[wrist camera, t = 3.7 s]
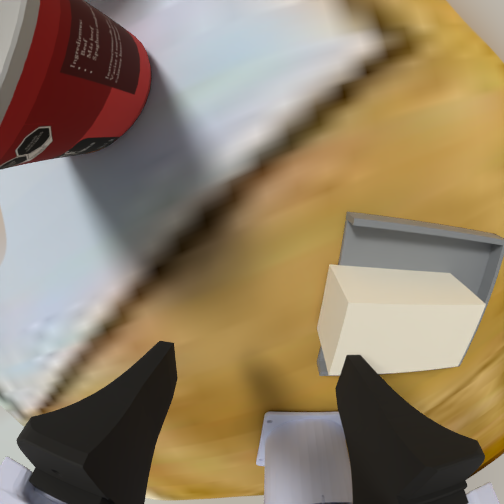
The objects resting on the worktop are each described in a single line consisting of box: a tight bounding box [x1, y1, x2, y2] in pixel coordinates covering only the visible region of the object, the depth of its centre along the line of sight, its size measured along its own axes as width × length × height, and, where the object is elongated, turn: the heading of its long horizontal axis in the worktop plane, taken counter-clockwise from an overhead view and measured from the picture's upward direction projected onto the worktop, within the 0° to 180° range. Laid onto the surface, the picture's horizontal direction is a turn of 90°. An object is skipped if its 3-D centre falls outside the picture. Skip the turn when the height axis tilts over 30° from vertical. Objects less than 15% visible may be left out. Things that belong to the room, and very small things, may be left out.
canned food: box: [0, 0, 151, 169], centre depth 9 cm, size 8×8×11 cm
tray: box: [317, 212, 504, 376], centre depth 17 cm, size 11×12×2 cm
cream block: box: [317, 264, 486, 375], centre depth 16 cm, size 4×4×9 cm
